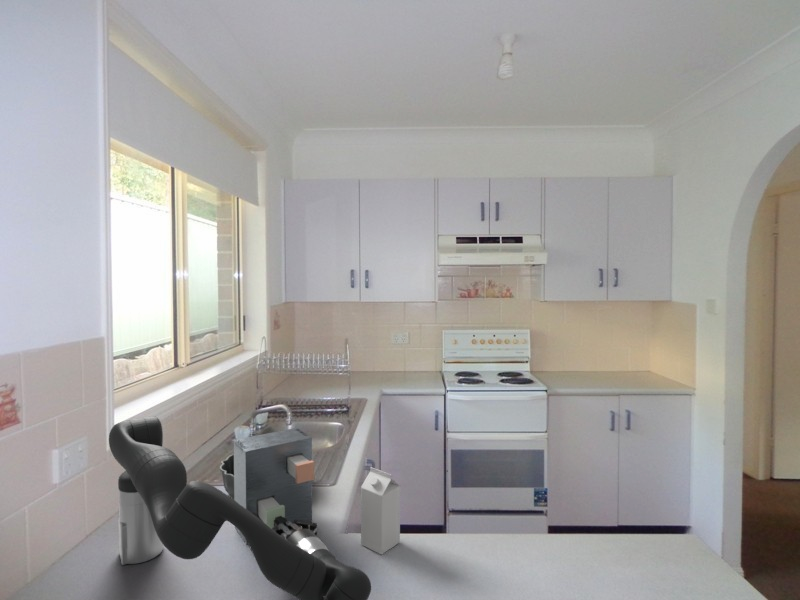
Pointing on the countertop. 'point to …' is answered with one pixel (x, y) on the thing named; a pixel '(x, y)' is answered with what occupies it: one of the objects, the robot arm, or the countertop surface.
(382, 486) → the milk carton
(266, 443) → the control panel
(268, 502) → the sage button
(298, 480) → the terracotta button
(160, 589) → the countertop surface
